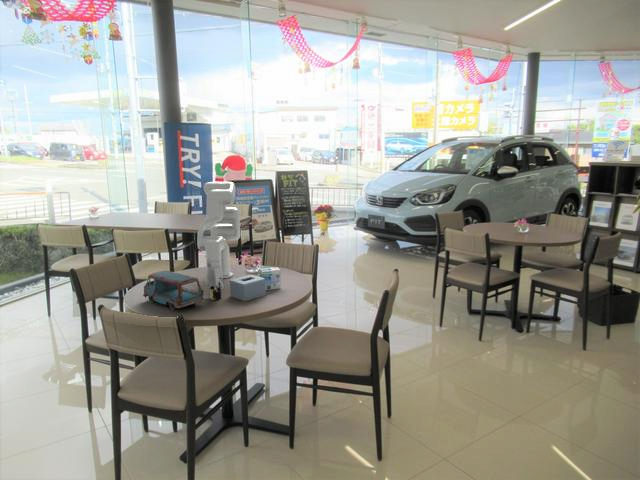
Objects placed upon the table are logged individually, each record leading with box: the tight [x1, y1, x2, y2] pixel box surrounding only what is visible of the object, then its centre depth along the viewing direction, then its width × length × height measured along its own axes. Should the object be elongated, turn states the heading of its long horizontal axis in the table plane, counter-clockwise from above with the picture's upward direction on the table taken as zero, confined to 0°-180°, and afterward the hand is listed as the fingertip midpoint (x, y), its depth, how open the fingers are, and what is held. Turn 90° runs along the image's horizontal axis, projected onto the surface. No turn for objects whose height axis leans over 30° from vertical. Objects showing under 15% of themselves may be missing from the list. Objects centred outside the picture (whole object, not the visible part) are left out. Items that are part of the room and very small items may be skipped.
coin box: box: [229, 274, 267, 302], centre depth 238 cm, size 12×14×9 cm
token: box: [209, 288, 216, 301], centre depth 235 cm, size 2×5×5 cm, turn 137°
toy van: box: [142, 270, 206, 311], centre depth 226 cm, size 16×32×15 cm, turn 52°
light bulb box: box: [259, 266, 282, 291], centre depth 251 cm, size 11×7×11 cm, turn 112°
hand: (215, 297), depth 235 cm, fingers open, 4 cm apart
